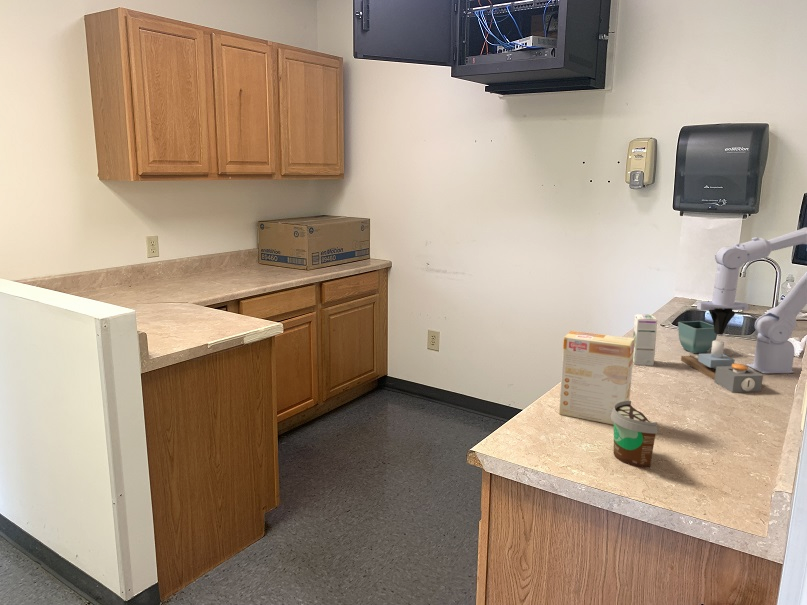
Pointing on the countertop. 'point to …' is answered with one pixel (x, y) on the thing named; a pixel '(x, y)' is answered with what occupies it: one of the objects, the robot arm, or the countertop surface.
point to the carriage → (716, 356)
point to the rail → (698, 365)
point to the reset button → (739, 368)
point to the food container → (633, 435)
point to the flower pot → (696, 336)
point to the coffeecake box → (595, 375)
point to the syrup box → (644, 339)
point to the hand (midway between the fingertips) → (718, 333)
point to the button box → (738, 379)
